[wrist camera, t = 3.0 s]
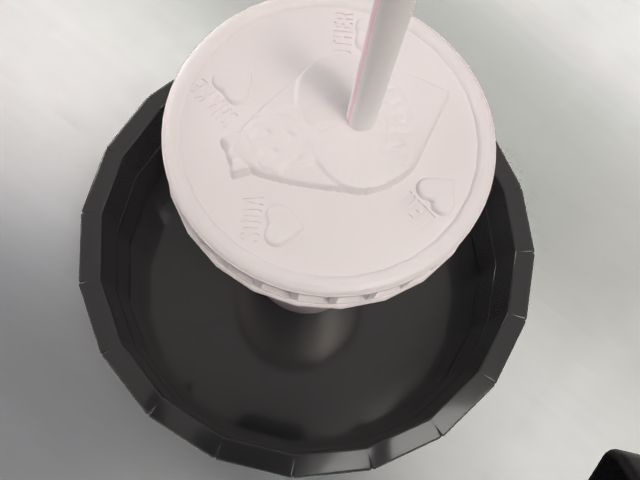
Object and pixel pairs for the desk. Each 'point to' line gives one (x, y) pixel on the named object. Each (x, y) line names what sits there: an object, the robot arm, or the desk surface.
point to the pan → (291, 329)
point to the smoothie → (327, 150)
